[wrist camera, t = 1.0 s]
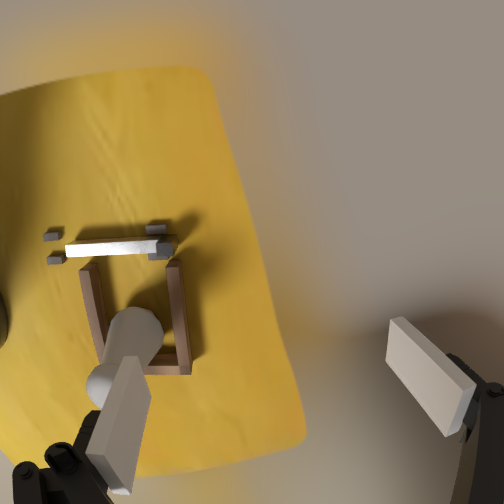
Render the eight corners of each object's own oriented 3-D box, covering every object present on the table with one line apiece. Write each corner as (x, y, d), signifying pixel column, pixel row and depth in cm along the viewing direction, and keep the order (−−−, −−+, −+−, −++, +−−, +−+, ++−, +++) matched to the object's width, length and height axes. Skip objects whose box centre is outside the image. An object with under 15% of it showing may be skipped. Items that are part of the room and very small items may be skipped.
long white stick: (74, 251, 30) (60, 260, 27) (72, 240, 30) (58, 248, 27) (178, 246, 31) (173, 255, 28) (177, 234, 31) (172, 242, 28)
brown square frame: (74, 359, 34) (67, 370, 31) (46, 232, 29) (35, 237, 27) (192, 361, 35) (191, 374, 32) (178, 223, 31) (175, 227, 28)
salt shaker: (119, 292, 32) (73, 359, 19) (170, 305, 33) (147, 380, 20) (115, 338, 33) (76, 413, 21) (162, 350, 34) (141, 432, 22)
